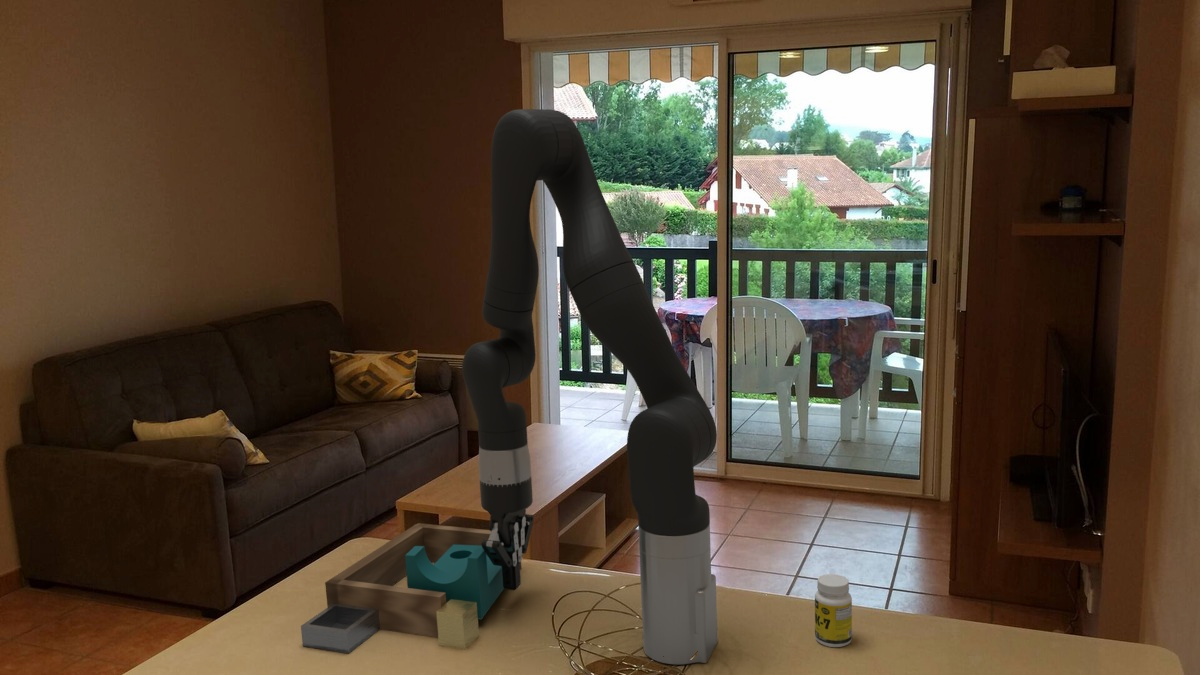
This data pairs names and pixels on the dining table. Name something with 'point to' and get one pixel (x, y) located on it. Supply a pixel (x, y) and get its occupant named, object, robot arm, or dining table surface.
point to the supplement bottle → (833, 611)
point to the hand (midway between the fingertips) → (512, 587)
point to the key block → (457, 624)
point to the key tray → (340, 628)
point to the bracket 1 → (387, 566)
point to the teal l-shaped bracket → (457, 575)
